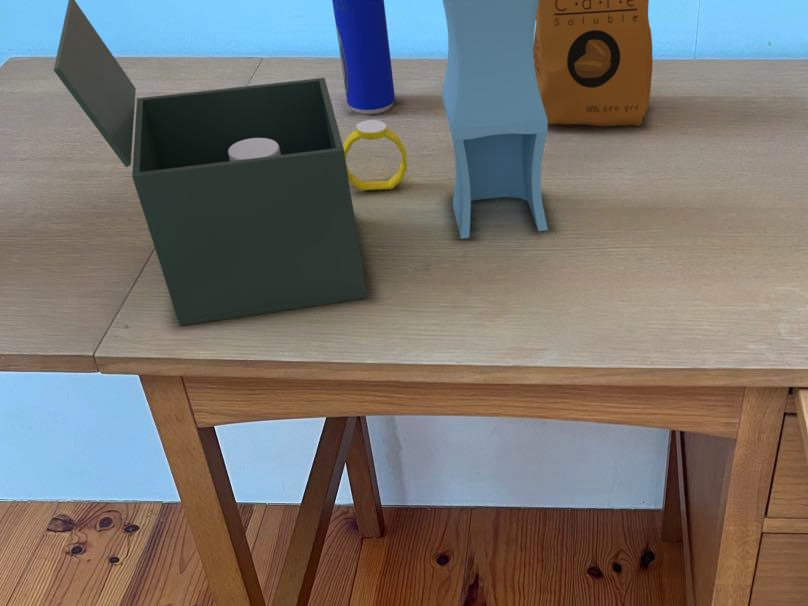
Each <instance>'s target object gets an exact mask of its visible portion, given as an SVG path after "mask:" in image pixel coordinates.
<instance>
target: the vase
mask: <svg viewBox="0 0 808 606" xmlns="http://www.w3.org/2000/svg"><path fill="white" fill-rule="evenodd" d="M538 3H539V0H442V5H443V9H444V14H445V20H446V28H447V45H448V47H447V48H448V50H447V59H446V60H447V62H446V68H445V73H444V80H443V84H442V89H441V91H442V102H443V107H444V110H445V113H446V117H447V121H448V125H449V126H448V127H449V130H450V134H451V135H450V136H451V140H452V145H453V153H454V154H453V155H454V160H455V161H454V165H455V168H454V169H455V171H454V172H455V175H454V176H455V177H454V191H453V200H452V207H453V213H454V216H455V217H454V218H455V221H456V225H457V229H458V234H459V238H460V240H462V239H470V237H471V236H470V234H471V215H472V214H471V213H472V211H471V210H472V209H471V208H472V205H471V204H472V203H471V202H474V201H479V200H487V199H499V198H515V199H520V200H524V201H526V202H527V203H528V205H529V209H530V211H531V214H532V217H533V220H534V223H535V226H536V229H537V232H546V231H549V228H548V224H547V218H546V214H545V209H544V204H543V195H542V183H541V180H542V179H541V177H542V163H543V156H544V150H545V145H546V141H547V136H548V129H549V127H548V124H547V116H546V113H545V110H544V106H543V103H542V100H541V96H540V92H539V88H538V84H537V79H536V73H535V66H534V55H533V47H534V37H535V29H536V15H537V9H538Z"/></svg>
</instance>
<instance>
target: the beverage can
mask: <svg viewBox="0 0 808 606" xmlns="http://www.w3.org/2000/svg"><path fill="white" fill-rule="evenodd" d="M331 2H332V9H333V16H334V23H335V28H336V29H335V30H336V35H337V44H338V50H339V55H340V63H341V70H342V77H343V82H344V90H345V96H346V103H347V106H349V107H350V108H351V109H352V111H354V112H356V113H358V114H361V115H378V114H381V113H384V112H387V111H389V110H390V109H391V108H392V106H393V105H394V103H395V101H396V95H395V86H394V78H393V68H392V59H391V49H390V41H389V32H388V23H387V16H386V15H387V14H386V8H385V7H386V6H385V0H331Z"/></svg>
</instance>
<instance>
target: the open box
mask: <svg viewBox="0 0 808 606" xmlns="http://www.w3.org/2000/svg"><path fill="white" fill-rule="evenodd" d="M135 106H136V108H135V121H134V122H135V125H134V139H133V140H134V141H133V157H132V169H131V173H132V174H131V178H132V181H133V184H134V186H135V189H136V193H137V196H138V199H139V202H140V203H139V204H140V206H141V209H142V212H143V215H144V218H145V222H146V225H147V228H148V231H149V235H150V237H151V241H152V244H153V246H154V250H155V253H156V256H157V259H158V262H159V266H160V268H161V272H162V275H163V279H164V281H165V282H164V283H165V285H166V288H167V291H168V294H169V298H170V300H171V303H172V307H173V309H174V312H175V316H176V319H177V323H178V325H179V327H181V326H187V325H194V324H201V323H209V322H214V321H215V322H216V321H221V320H228V319H235V318H243V317H250V316H256V315H263V314H269V313H275V312H276V313H277V312H282V311H283V312H285V311H290V310H296V309H303V308H309V307H317V306H323V305H324V306H325V305H331V304H337V303H345V302H350V301H351V302H352V301H359V300H364V299H368V294H367V288H366V282H365V275H364V270H363V269H364V267H363V262H362V256H361V250H360V244H359V237H358V230H357V224H356V219H355V211H354V205H353V199H352V193H351V192H352V191H351V186H350V181H349V179H348V172H347V166H348V165H347V166H346V164H347V159H346V160H345V153H344V148H343V140H342V137H341V134H340V130H339V126H338V123H337V119H336V114H335V112H334V108H333V103H332V100H331V97H330V92H329V88H328V85H327V81H326V78H325V77H318V78H309V79H299V80H292V81H290V80H289V81H281V82H272V83H264V84H263V83H262V84H255V85H254V84H253V85H246V86H237V87H236V86H235V87H226V88H219V89H209V90H200V91H191V92H182V93H173V94H171V93H170V94H163V95H155V96H145V97H137V98H136V105H135ZM250 138H267V139H271V140H273V141H275V142H277V143H278V145H279V148H280V153H281V155H277V156H269V157H261V158H252V159H244V160H236V161H230V159H229V155H228V150H229V148H230V147H231V146H232V145H233V144H235V143H237V142H239V141H242V140H245V139H250Z"/></svg>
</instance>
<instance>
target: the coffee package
mask: <svg viewBox="0 0 808 606" xmlns="http://www.w3.org/2000/svg"><path fill="white" fill-rule="evenodd" d="M649 2H650V0H539V3H538V9H537V15H536V21H535V30H534V47H533V55H534V66H535V73H536V79H537V84H538V88H539V92H540V96H541V100H542V103H543V106H544V110H545V113H546V116H547V125H584V126H585V125H586V126H594V127H595V126H596V127H612V126H634V127H635V126H636V127H640V126H641V125H643V118H644V117H645V116H646V113H647V111H648V109H649V106H650V97H651V87H652V76H653V64H654V63H653V38H652V29H651V26H650V19H649V5H650V4H649Z"/></svg>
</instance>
